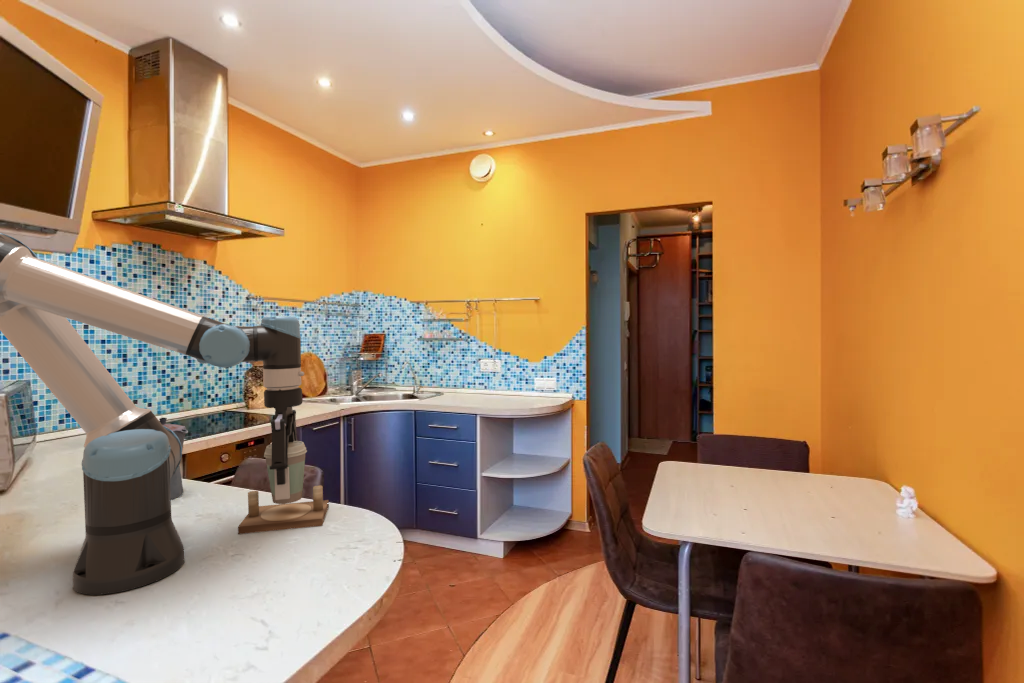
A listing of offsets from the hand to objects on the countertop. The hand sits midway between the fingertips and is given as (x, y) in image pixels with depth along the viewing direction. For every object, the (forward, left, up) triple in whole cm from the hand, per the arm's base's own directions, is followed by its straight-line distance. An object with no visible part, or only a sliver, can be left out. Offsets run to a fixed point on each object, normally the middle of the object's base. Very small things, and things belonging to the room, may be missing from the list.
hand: (286, 492), depth 109 cm
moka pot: (+25, +34, -6) cm, 43 cm away
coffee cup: (0, 0, -2) cm, 2 cm away
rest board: (0, 0, -6) cm, 6 cm away
